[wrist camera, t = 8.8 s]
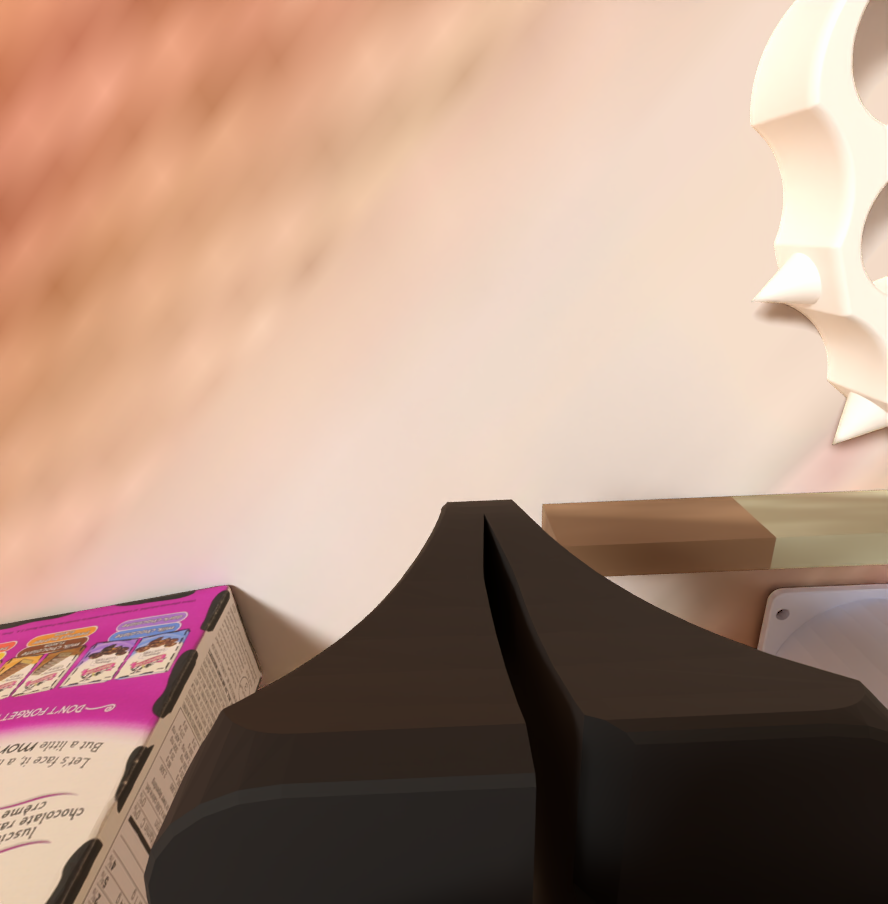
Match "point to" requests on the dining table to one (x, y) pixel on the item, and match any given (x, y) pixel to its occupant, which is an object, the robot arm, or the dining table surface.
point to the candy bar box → (107, 736)
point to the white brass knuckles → (827, 198)
